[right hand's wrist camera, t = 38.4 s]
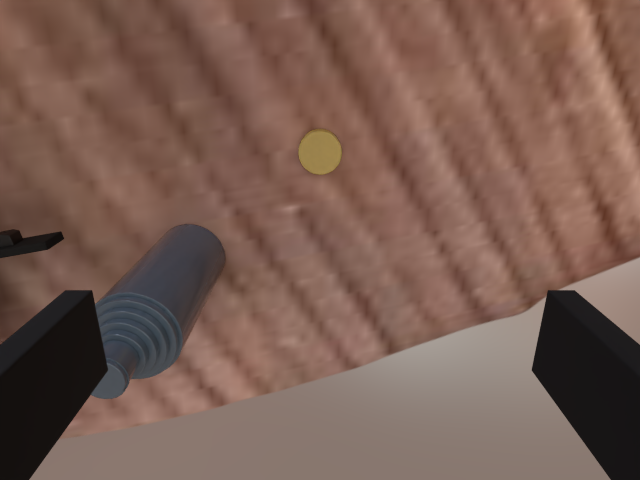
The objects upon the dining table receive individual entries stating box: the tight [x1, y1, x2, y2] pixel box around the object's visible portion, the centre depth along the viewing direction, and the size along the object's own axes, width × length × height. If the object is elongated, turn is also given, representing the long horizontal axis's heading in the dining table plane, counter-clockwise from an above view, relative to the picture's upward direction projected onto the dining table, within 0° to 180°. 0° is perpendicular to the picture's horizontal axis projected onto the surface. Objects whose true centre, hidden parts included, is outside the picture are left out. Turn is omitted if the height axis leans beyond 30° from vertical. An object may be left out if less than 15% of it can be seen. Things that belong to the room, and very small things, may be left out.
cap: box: [298, 129, 342, 175], centre depth 44 cm, size 4×4×2 cm
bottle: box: [91, 224, 225, 399], centre depth 39 cm, size 8×8×22 cm
